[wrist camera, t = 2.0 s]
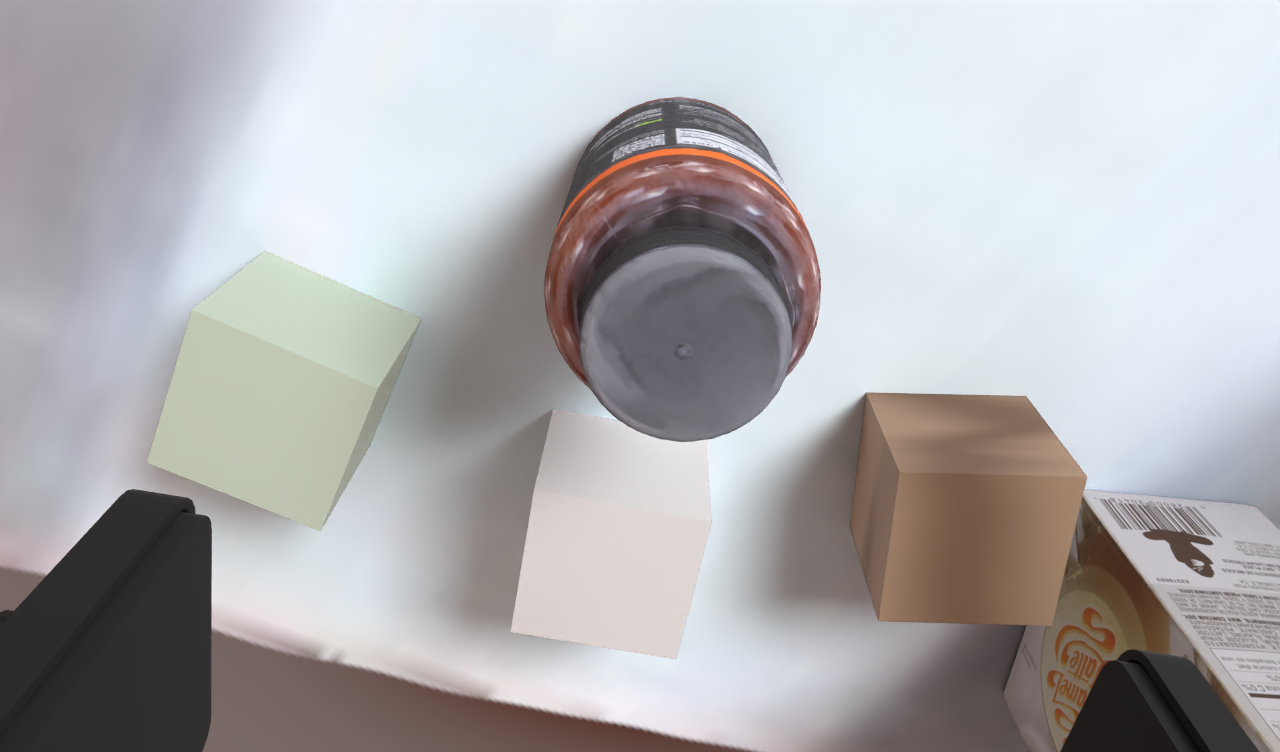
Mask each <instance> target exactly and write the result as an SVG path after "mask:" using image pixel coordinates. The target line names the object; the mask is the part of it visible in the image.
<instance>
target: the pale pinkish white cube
mask: <svg viewBox="0 0 1280 752" xmlns="http://www.w3.org/2000/svg"><path fill="white" fill-rule="evenodd" d="M711 523H712V513H711V500H710V486H709V472H708V459H707V445H706V440H700V441H694V442H676V441H670V440H662V439H658V438H655V437H651V436H649V435H646V434H643V433H640V432H638V431H636V430H634V429H633V428H630V427H628V426H627V425H625V424H624V423H623V422H621V421H618V420H612V419H606V418H601V417H595V416H590V415H584V414H578V413H573V412H567V411H562V410H556V409H553V411H552V416H551V420H550V424H549V428H548V432H547V437H546V441H545V445H544V449H543V454H542V458H541V462H540V466H539V471H538V475H537V479H536V483H535V487H534V492H533V498H532V504H531V510H530V517H529V523H528V529H527V535H526V541H525V547H524V553H523V559H522V565H521V571H520V577H519V583H518V589H517V595H516V602H515V608H514V614H513V620H512V626H511V632H513V633H519V634H525V635H531V636H537V637H543V638H550V639H556V640H562V641H568V642H574V643H580V644H586V645H592V646H598V647H604V648H610V649H616V650H622V651H628V652H634V653H640V654H646V655H652V656H658V657H664V658H671V659H676V658H677V654H678V650H679V646H680V642H681V639H682V635H683V631H684V627H685V623H686V619H687V616H688V612H689V608H690V604H691V600H692V596H693V592H694V589H695V585H696V581H697V577H698V573H699V569H700V566H701V562H702V558H703V554H704V550H705V546H706V542H707V539H708V535H709V531H710V527H711Z"/></svg>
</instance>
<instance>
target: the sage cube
mask: <svg viewBox="0 0 1280 752" xmlns="http://www.w3.org/2000/svg"><path fill="white" fill-rule="evenodd" d="M420 321H421V318H419V317H417V316H414V315H412V314H410V313H407V312H405V311H403V310H401V309H398V308H396V307H394V306H391V305H389V304H387V303H384V302H382V301H380V300H378V299H375V298H373V297H371V296H368V295H366V294H364V293H362V292H359V291H357V290H355V289H352V288H350V287H348V286H346V285H343V284H341V283H339V282H336V281H334V280H332V279H329V278H327V277H325V276H323V275H320V274H318V273H316V272H313V271H311V270H309V269H307V268H304V267H302V266H300V265H297V264H295V263H293V262H290V261H288V260H286V259H284V258H281V257H279V256H277V255H274V254H272V253H270V252H268V251H264V252H263V253H261V254H260V255H259V256H258V257H257V258H255V259H254V260H253V261H252V262H250V263H249V264H248V265H247V266H245V267H244V268H243V269H242V270H240V271H239V272H238V273H237V274H236V275H234V276H233V277H232V278H231V279H229V280H228V281H227V282H226V283H224V284H223V285H222V286H221V287H219V288H218V289H217V290H216V291H214V292H213V293H212V294H211V295H210V296H208V297H207V298H206V299H205V300H203V301H202V302H201V303H200V304H198V305H197V306H196V307H195V308H193V309H192V311H191V315H190V318H189V322H188V325H187V328H186V332H185V335H184V338H183V342H182V345H181V349H180V352H179V355H178V359H177V362H176V365H175V369H174V372H173V376H172V379H171V382H170V386H169V389H168V392H167V396H166V399H165V403H164V406H163V409H162V413H161V416H160V419H159V423H158V426H157V429H156V433H155V436H154V440H153V443H152V446H151V450H150V453H149V456H148V460H147V463H148V464H151V465H154V466H156V467H159V468H161V469H164V470H166V471H169V472H171V473H174V474H176V475H179V476H181V477H184V478H187V479H189V480H192V481H194V482H197V483H199V484H202V485H204V486H207V487H209V488H212V489H215V490H217V491H220V492H222V493H225V494H227V495H230V496H232V497H235V498H237V499H240V500H242V501H245V502H248V503H250V504H253V505H255V506H258V507H260V508H263V509H265V510H268V511H270V512H273V513H276V514H278V515H281V516H283V517H286V518H288V519H291V520H293V521H296V522H298V523H301V524H303V525H306V526H309V527H311V528H314V529H316V530H319V531H321V530H322V528H323V526H324V524H325V523H326V521H327V519H328V517H329V516H330V514H331V512H332V511H333V509H334V507H335V505H336V504H337V502H338V500H339V498H340V497H341V495H342V493H343V491H344V490H345V488H346V486H347V484H348V483H349V481H350V479H351V478H352V476H353V474H354V472H355V471H356V469H357V467H358V465H359V464H360V462H361V460H362V458H363V457H364V455H365V453H366V451H367V450H368V448H369V446H370V444H371V441H372V439H373V436H374V434H375V432H376V429H377V427H378V424H379V422H380V419H381V417H382V414H383V412H384V410H385V407H386V405H387V402H388V400H389V397H390V395H391V392H392V390H393V388H394V385H395V383H396V380H397V378H398V375H399V373H400V370H401V368H402V365H403V363H404V361H405V358H406V356H407V353H408V351H409V348H410V346H411V343H412V341H413V339H414V336H415V334H416V331H417V329H418V326H419V324H420Z"/></svg>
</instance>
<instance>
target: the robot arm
mask: <svg viewBox="0 0 1280 752" xmlns="http://www.w3.org/2000/svg"><path fill="white" fill-rule="evenodd" d="M211 576H212V528H211V521H210V519H209V517H207V516H204V515H198V514H195V506H194V504H193V501H192V500H190V499H189V498H185V497H179V496H173V495H166V494H160V493H154V492H148V491H141V490H135V489H132V490H127V491H126V492H125V493H123V494H122V495H121V496H120V497H119V498H118V499H117V500H116V501H115V502H114V503H113V505H112V506H111V507H110V508H109V509H108V510H107V511H106V512H105V513H104V514H103V515H102V516H101V518H100V519H99V520H98V521H97V522H96V523H95V524H94V525H93V526H92V527H91V528H90V529H89V531H88V532H87V533H86V534H85V535H84V536H83V537H82V538H81V539H80V540H79V541H78V542H77V544H76V545H75V546H74V547H73V548H72V549H71V550H70V551H69V552H68V553H67V554H66V555H65V557H64V558H63V559H62V560H61V561H60V562H59V563H58V564H57V565H56V566H55V567H54V568H53V570H52V571H51V572H50V573H49V574H48V575H47V576H46V577H45V578H44V579H43V581H41V582H40V584H39V585H38V586H37V587H36V588H35V589H34V590H33V591H32V592H31V593H30V594H29V595H28V597H27V598H26V599H25V600H24V601H23V602H22V603H21V604H20V605H19V606H18V607H17V608H16V610H15V611H9V610H5V611H2V612H0V752H202V751H203V748H204V745H205V742H206V740H207V736H208V732H209V728H210V722H211ZM1060 752H1259V750H1258V749H1257V748H1256V746H1255V745H1254V744H1253V742H1252V741H1251V739H1250V738H1249V737H1248V735H1247V734H1246V733H1245V731H1244V730H1243V729H1242V727H1241V726H1240V725H1239V723H1238V722H1237V720H1236V719H1235V718H1234V716H1233V715H1232V714H1231V712H1230V711H1229V710H1228V708H1227V707H1226V706H1225V704H1224V703H1223V702H1222V700H1221V699H1220V697H1219V696H1218V695H1217V693H1216V692H1215V691H1214V689H1213V688H1212V687H1211V685H1210V684H1209V683H1208V681H1207V680H1206V678H1205V677H1204V676H1203V674H1202V673H1201V672H1200V670H1199V669H1198V668H1197V667H1196V666H1195V665H1194V664H1193V663H1192V662H1191V661H1190V660H1189V659H1186V658H1184V657H1180V656H1174V655H1168V654H1161V653H1155V652H1149V651H1143V650H1136V649H1132V650H1127V651H1125V652H1124V653H1122V654H1121V655H1120V656H1119V658H1118V659H1117V660H1112V661H1109V662H1107V663H1106V664H1105V665H1104V666H1103V667H1102V669H1101V670H1100V672H1099V674H1098V676H1097V678H1096V680H1095V682H1094V684H1093V687H1092V689H1091V691H1090V693H1089V695H1088V697H1087V699H1086V701H1085V703H1084V705H1083V707H1082V709H1081V711H1080V713H1079V715H1078V717H1077V719H1076V721H1075V723H1074V725H1073V727H1072V729H1071V731H1070V733H1069V735H1068V737H1067V739H1066V741H1065V743H1064V745H1063V747H1062V749H1061V751H1060Z"/></svg>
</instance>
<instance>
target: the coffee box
mask: <svg viewBox="0 0 1280 752" xmlns="http://www.w3.org/2000/svg"><path fill="white" fill-rule="evenodd" d="M1132 649H1136V650H1143V651H1149V652H1155V653H1161V654H1168V655H1174V656H1180V657H1184V658H1186V659H1189V660H1190V661H1191V662H1192V663H1193V664H1194V665H1195V666H1196V667H1197V668H1198V669H1199V670H1200V672H1201V673H1202V674H1203V676H1204V677H1205V678H1206V680H1207V681H1208V683H1209V684H1210V685H1211V687H1212V688H1213V689H1214V691H1215V692H1216V693H1217V695H1218V696H1219V697H1220V699H1221V700H1222V702H1223V703H1224V704H1225V706H1226V707H1227V708H1228V710H1229V711H1230V712H1231V714H1232V715H1233V716H1234V718H1235V719H1236V720H1237V722H1238V723H1239V725H1240V726H1241V727H1242V729H1243V730H1244V731H1245V733H1246V734H1247V735H1248V737H1249V738H1250V739H1251V741H1252V742H1253V744H1254V745H1255V746H1256V748H1257V749H1258V750H1259V752H1280V529H1278V528H1277V527H1276V526H1275V525H1274V524H1273V523H1272V522H1271V521H1270V520H1269V519H1268V518H1267V517H1266V516H1265V515H1264V514H1263V513H1262V512H1261V511H1260V510H1259V509H1257V508H1256V507H1253V506H1250V505H1244V504H1235V503H1223V502H1212V501H1202V500H1191V499H1180V498H1170V497H1160V496H1150V495H1138V494H1126V493H1116V492H1105V491H1095V490H1084V492H1083V496H1082V501H1081V505H1080V509H1079V513H1078V517H1077V522H1076V526H1075V530H1074V534H1073V539H1072V543H1071V547H1070V551H1069V555H1068V560H1067V564H1066V568H1065V572H1064V577H1063V581H1062V585H1061V589H1060V593H1059V598H1058V602H1057V606H1056V610H1055V615H1054V619H1053V623H1052V626H1038V625H1027V626H1026V629H1025V632H1024V635H1023V638H1022V641H1021V644H1020V647H1019V649H1018V652H1017V655H1016V658H1015V661H1014V664H1013V667H1012V670H1011V673H1010V675H1009V678H1008V681H1007V684H1006V687H1005V690H1004V693H1003V695H1004V699H1005V701H1006V704H1007V706H1008V708H1009V709H1010V712H1011V714H1012V716H1013V719H1014V721H1015V723H1016V725H1017V728H1018V730H1019V732H1020V735H1021V737H1022V739H1023V741H1024V743H1025V746H1026V748H1027V750H1028V752H1060V751H1061V749H1062V747H1063V745H1064V743H1065V741H1066V739H1067V737H1068V735H1069V733H1070V731H1071V729H1072V727H1073V725H1074V723H1075V721H1076V719H1077V717H1078V715H1079V713H1080V711H1081V709H1082V707H1083V705H1084V703H1085V701H1086V699H1087V697H1088V695H1089V693H1090V691H1091V689H1092V687H1093V684H1094V682H1095V680H1096V678H1097V676H1098V674H1099V672H1100V670H1101V669H1102V667H1103V666H1104V665H1105V664H1106V663H1107V662H1109V661H1112V660H1117V659H1118V658H1119V656H1120V655H1121V654H1122V653H1124V652H1125V651H1127V650H1132Z"/></svg>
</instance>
